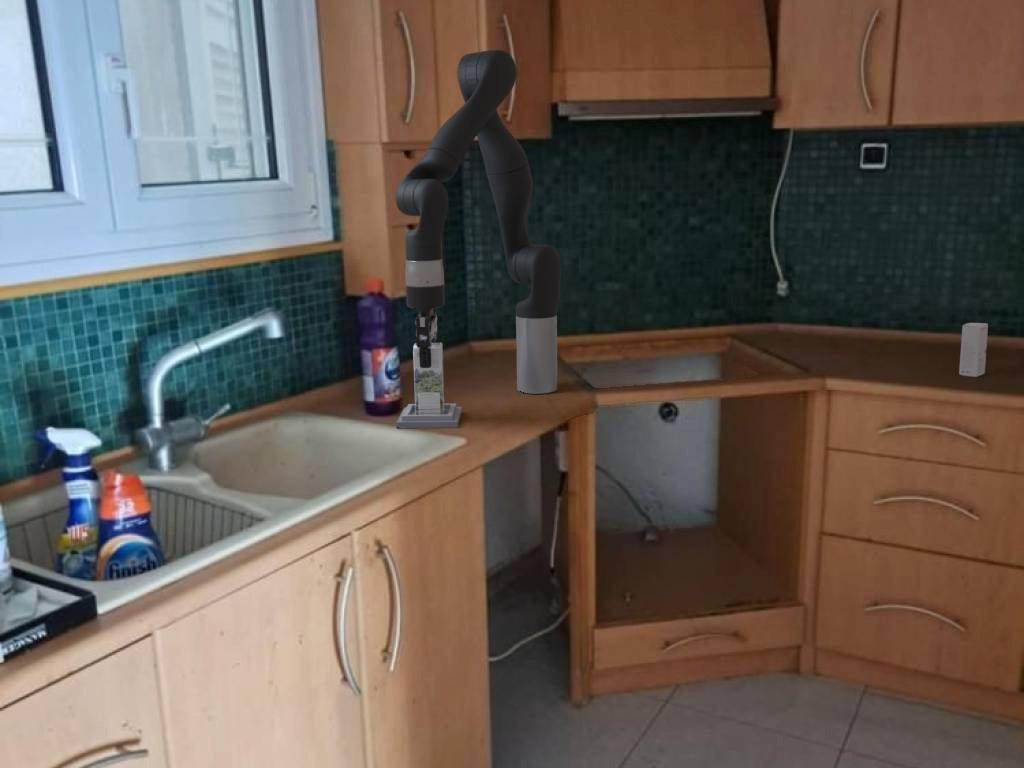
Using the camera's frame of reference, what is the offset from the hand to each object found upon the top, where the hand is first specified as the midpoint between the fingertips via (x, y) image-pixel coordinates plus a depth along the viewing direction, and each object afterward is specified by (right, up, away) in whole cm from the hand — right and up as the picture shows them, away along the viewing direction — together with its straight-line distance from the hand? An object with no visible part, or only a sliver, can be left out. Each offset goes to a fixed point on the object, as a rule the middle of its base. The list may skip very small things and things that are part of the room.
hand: (428, 363), depth 188 cm
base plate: (0, -12, +3) cm, 12 cm away
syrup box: (0, -11, +2) cm, 11 cm away
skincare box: (+127, -2, +36) cm, 132 cm away
